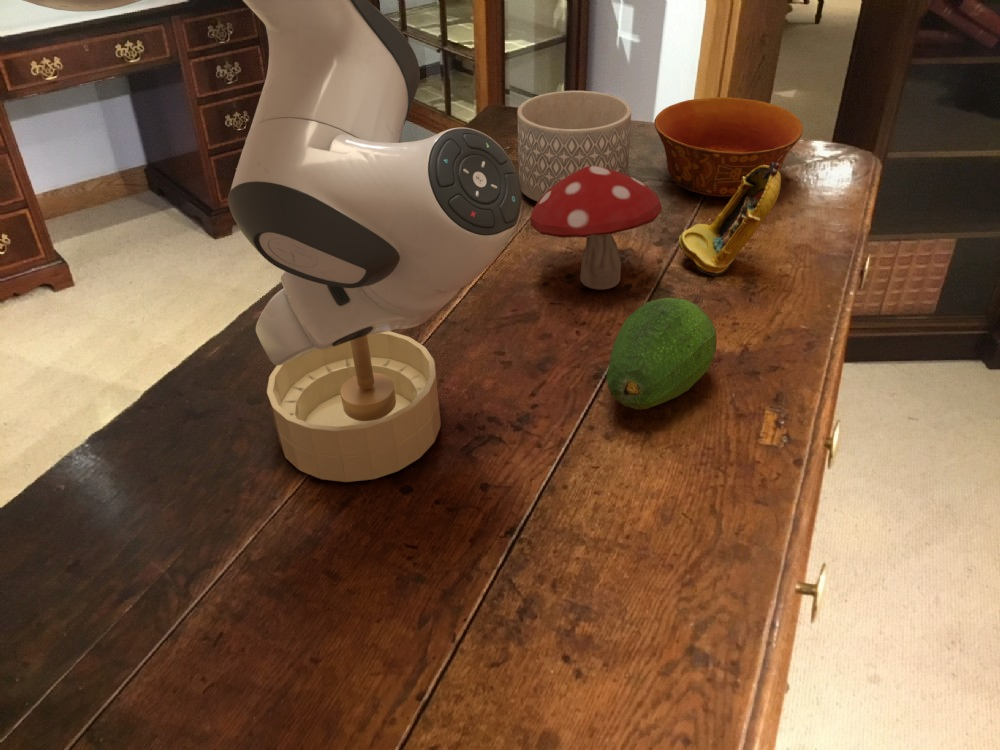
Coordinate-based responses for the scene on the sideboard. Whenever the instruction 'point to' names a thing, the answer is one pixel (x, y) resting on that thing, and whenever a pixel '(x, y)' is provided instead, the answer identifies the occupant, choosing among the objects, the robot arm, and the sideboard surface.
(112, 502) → the sideboard surface
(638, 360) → the fruit
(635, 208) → the decorative mushroom
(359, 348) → the wooden dowel stand
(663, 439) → the sideboard surface
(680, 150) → the bowl
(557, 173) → the planter
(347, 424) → the mixing bowl
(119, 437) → the sideboard surface
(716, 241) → the shrine
